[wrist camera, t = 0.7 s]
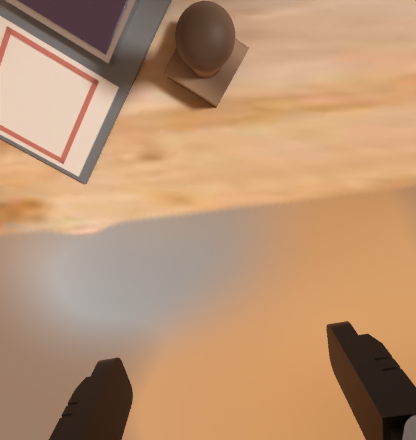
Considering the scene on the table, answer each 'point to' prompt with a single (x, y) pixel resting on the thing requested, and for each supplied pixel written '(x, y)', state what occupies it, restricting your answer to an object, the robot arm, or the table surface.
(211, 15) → the stamp
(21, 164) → the table surface
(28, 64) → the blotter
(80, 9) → the ink pad
